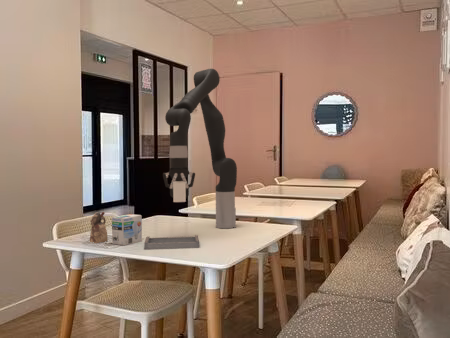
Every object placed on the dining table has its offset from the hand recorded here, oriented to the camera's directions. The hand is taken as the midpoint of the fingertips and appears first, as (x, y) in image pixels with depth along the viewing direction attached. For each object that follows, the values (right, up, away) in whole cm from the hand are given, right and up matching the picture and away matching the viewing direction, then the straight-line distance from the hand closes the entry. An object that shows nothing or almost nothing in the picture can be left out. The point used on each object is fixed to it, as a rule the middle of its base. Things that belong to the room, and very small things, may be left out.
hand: (179, 197), depth 182 cm
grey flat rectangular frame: (-1, -18, -13) cm, 22 cm away
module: (0, -2, 0) cm, 2 cm away
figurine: (-33, -18, -5) cm, 37 cm away
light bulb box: (-20, -18, -7) cm, 28 cm away
